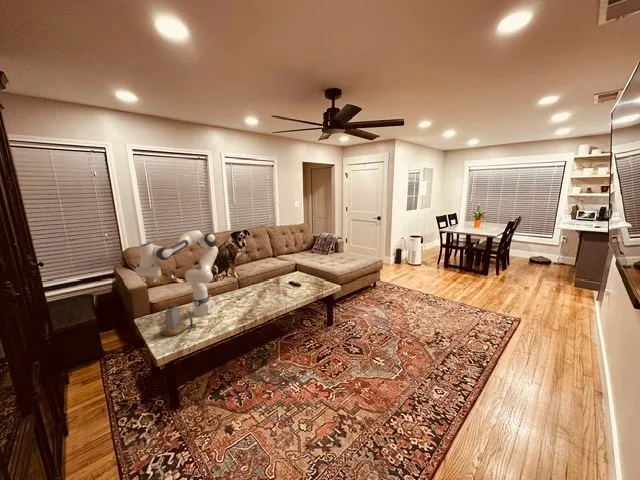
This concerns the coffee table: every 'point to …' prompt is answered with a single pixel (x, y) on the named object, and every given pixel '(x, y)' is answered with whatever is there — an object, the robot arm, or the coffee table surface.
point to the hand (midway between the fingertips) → (149, 281)
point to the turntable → (174, 332)
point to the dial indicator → (190, 310)
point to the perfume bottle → (172, 317)
